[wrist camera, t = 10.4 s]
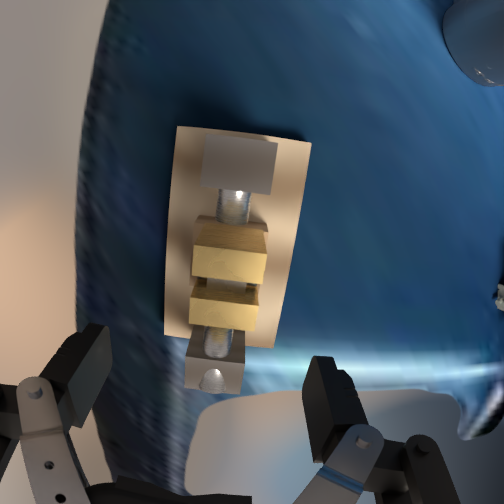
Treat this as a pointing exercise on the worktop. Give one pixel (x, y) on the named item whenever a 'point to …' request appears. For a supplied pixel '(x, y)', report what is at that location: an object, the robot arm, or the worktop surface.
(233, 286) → the slotted brass block
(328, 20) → the worktop surface
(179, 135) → the coupling base
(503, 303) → the metal bracket
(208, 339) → the shafts
